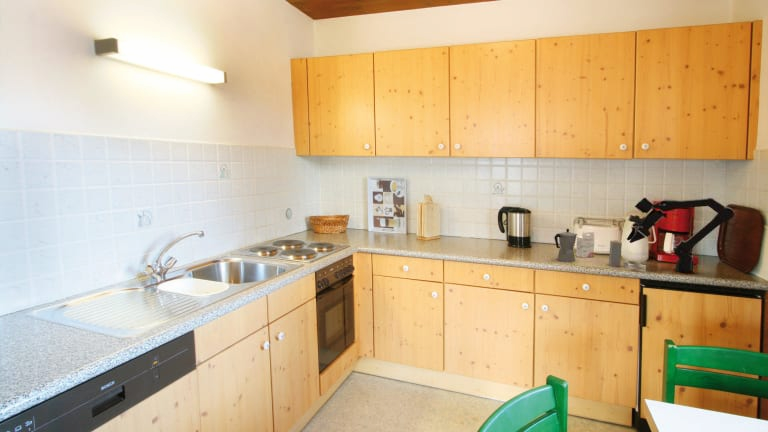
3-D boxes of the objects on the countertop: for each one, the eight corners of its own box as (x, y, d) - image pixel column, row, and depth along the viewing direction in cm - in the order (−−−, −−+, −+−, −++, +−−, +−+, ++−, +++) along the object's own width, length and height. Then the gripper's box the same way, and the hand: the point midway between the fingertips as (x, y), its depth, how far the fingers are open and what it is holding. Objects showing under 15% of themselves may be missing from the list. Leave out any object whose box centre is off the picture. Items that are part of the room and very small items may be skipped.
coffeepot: (569, 257, 259) (571, 226, 257) (581, 261, 251) (583, 229, 248) (547, 259, 254) (549, 228, 252) (559, 263, 245) (561, 231, 243)
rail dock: (640, 267, 236) (641, 261, 236) (645, 271, 227) (646, 265, 227) (623, 266, 239) (624, 260, 238) (628, 270, 230) (628, 264, 229)
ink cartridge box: (587, 255, 266) (589, 230, 264) (593, 256, 261) (595, 232, 259) (575, 255, 263) (576, 231, 262) (581, 257, 259) (582, 232, 257)
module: (617, 264, 243) (619, 239, 241) (619, 266, 238) (621, 240, 236) (608, 264, 244) (610, 238, 242) (610, 266, 239) (612, 240, 237)
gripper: (635, 207, 244) (613, 229, 249) (641, 210, 227) (618, 233, 232) (652, 221, 242) (630, 242, 247) (660, 225, 224) (636, 247, 229)
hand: (628, 241), depth 239 cm, fingers open, 9 cm apart
